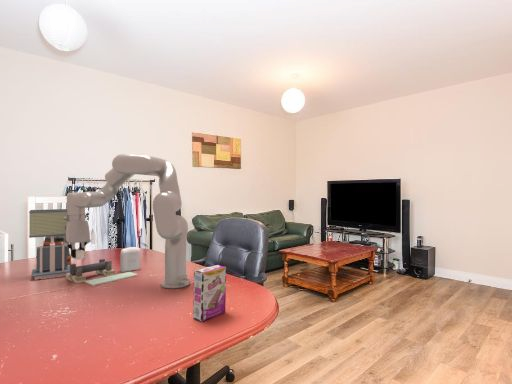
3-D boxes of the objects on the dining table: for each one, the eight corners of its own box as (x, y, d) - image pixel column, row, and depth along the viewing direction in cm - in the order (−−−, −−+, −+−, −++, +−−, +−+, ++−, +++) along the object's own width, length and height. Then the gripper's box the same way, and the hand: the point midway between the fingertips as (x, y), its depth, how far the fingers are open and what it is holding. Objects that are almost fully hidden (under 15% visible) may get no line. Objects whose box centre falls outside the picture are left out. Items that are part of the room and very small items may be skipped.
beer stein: (39, 262, 182) (39, 228, 182) (68, 259, 191) (68, 226, 191) (41, 269, 167) (41, 232, 167) (72, 265, 176) (72, 230, 176)
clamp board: (114, 275, 157) (115, 261, 157) (76, 283, 143) (76, 268, 143) (103, 271, 164) (103, 257, 164) (66, 278, 150) (66, 264, 150)
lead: (106, 269, 161) (105, 262, 162) (109, 267, 159) (108, 260, 160) (71, 276, 148) (69, 268, 149) (73, 274, 146) (72, 266, 147)
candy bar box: (202, 322, 101) (202, 272, 101) (192, 318, 105) (192, 270, 105) (226, 312, 110) (226, 266, 110) (216, 309, 113) (217, 264, 113)
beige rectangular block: (84, 258, 146) (83, 250, 146) (78, 259, 144) (78, 251, 144) (76, 256, 151) (76, 248, 152) (70, 257, 149) (70, 249, 149)
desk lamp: (72, 269, 167) (72, 208, 167) (74, 275, 155) (74, 210, 155) (30, 274, 157) (30, 209, 157) (29, 281, 145) (29, 211, 145)
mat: (137, 275, 156) (137, 274, 156) (92, 285, 139) (92, 284, 139) (129, 272, 161) (129, 271, 161) (84, 282, 144) (84, 281, 144)
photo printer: (138, 267, 171) (138, 245, 171) (141, 269, 168) (141, 246, 168) (119, 271, 164) (119, 247, 164) (122, 272, 161) (122, 249, 161)
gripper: (60, 220, 139) (61, 261, 139) (97, 217, 152) (98, 254, 152) (54, 219, 144) (55, 259, 144) (90, 216, 156) (91, 253, 156)
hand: (77, 256), depth 148 cm, fingers closed on beige rectangular block, 2 cm apart
